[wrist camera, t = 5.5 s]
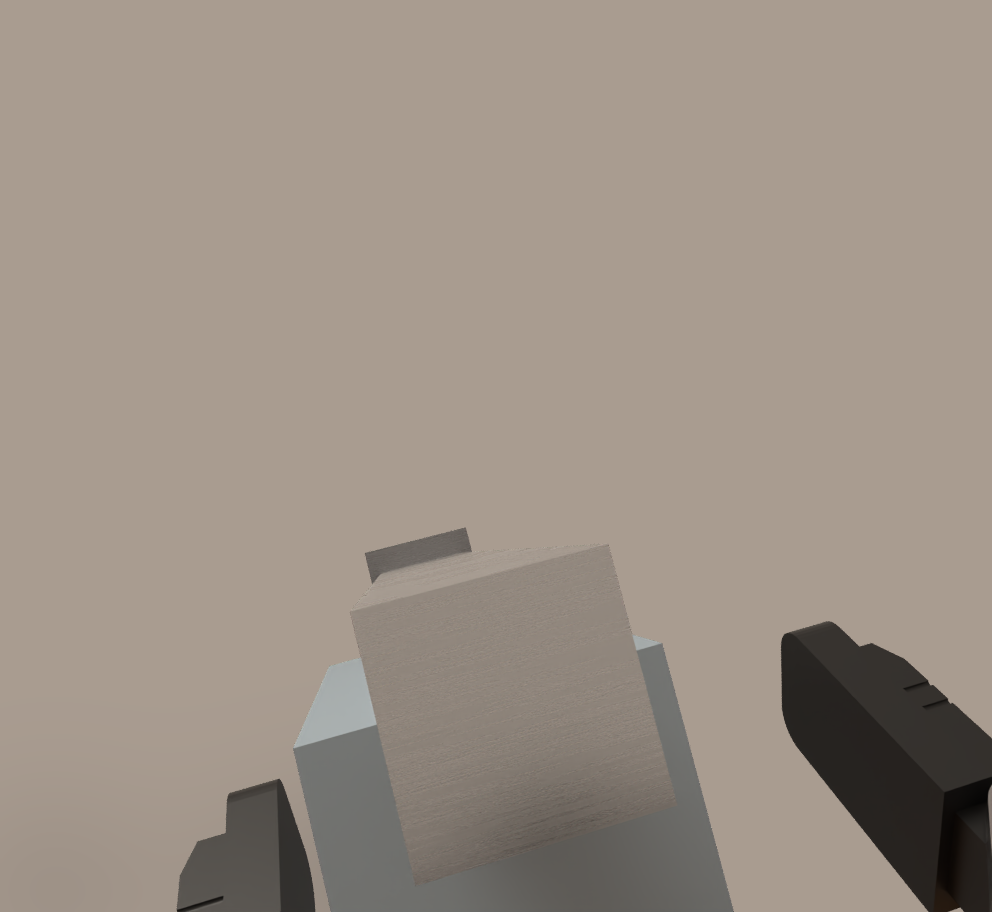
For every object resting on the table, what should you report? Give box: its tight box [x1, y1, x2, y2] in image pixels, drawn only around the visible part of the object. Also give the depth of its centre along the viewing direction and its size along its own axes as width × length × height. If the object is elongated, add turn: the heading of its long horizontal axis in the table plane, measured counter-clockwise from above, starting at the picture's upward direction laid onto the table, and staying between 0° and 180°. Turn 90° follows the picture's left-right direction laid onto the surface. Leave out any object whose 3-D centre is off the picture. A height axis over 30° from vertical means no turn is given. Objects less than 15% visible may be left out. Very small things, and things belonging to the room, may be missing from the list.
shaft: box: [350, 528, 677, 886], centre depth 26 cm, size 30×4×4 cm, turn 7°
